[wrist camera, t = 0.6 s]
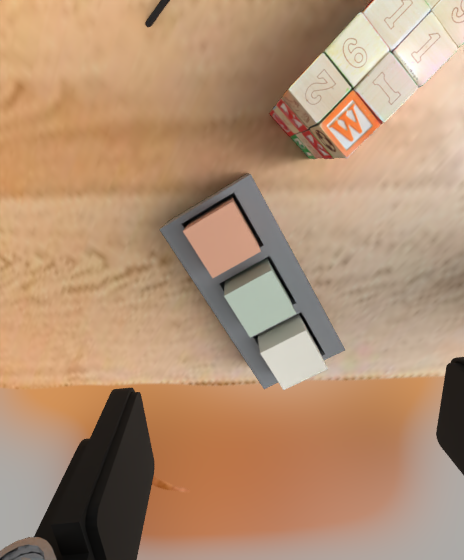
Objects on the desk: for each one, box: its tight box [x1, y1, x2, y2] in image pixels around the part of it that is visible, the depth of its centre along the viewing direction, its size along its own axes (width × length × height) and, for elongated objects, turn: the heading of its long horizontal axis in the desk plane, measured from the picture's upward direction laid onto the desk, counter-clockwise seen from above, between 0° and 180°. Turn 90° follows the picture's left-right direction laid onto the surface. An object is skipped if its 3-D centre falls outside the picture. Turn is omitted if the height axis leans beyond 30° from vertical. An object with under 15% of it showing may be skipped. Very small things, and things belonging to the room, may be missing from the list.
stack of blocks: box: [270, 0, 464, 159], centre depth 26 cm, size 21×6×12 cm, turn 135°
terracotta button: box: [183, 197, 261, 278], centre depth 32 cm, size 5×5×5 cm
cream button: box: [257, 314, 328, 390], centre depth 36 cm, size 5×5×5 cm
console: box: [159, 173, 345, 389], centre depth 37 cm, size 10×21×5 cm, turn 30°
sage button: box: [224, 258, 296, 338], centre depth 34 cm, size 5×5×5 cm
